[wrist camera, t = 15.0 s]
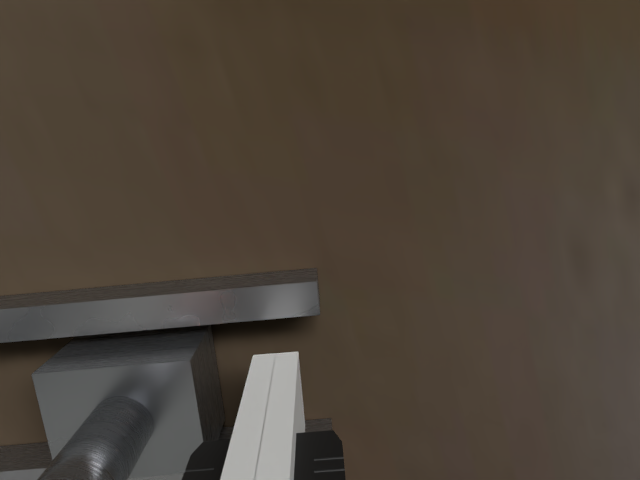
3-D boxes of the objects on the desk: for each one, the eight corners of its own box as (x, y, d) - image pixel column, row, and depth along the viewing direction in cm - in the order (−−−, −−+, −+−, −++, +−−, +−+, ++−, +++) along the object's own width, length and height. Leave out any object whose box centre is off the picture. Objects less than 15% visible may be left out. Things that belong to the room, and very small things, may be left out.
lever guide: (316, 268, 18) (316, 295, 15) (333, 445, 19) (336, 500, 16) (-144, 308, 18) (-233, 343, 15) (-89, 480, 20) (-160, 541, 17)
